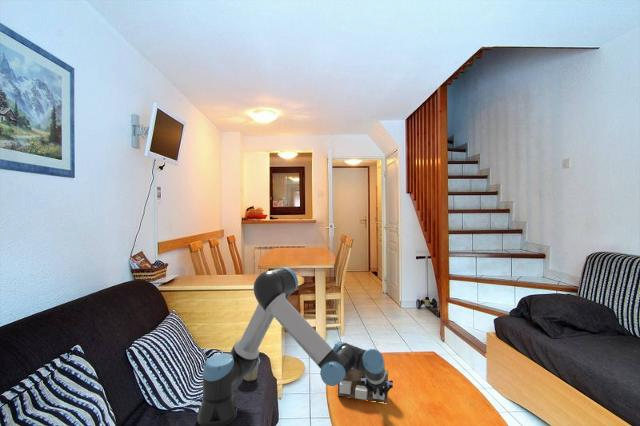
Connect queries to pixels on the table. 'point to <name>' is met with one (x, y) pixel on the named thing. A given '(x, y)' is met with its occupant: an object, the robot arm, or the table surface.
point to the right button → (381, 396)
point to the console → (356, 380)
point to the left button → (345, 387)
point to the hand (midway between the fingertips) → (378, 395)
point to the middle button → (361, 392)
